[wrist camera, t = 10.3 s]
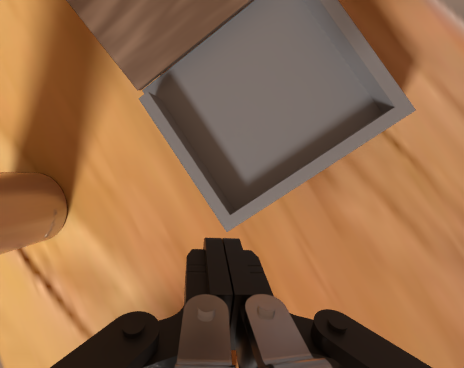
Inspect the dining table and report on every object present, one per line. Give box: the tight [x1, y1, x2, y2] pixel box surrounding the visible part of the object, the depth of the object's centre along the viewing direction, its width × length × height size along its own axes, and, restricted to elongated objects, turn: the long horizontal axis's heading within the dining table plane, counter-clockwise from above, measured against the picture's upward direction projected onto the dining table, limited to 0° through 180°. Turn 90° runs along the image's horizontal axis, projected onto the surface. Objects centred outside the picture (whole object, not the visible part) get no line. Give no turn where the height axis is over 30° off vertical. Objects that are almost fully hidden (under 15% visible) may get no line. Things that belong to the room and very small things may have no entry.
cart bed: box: [139, 0, 416, 232], centre depth 29 cm, size 18×20×6 cm
